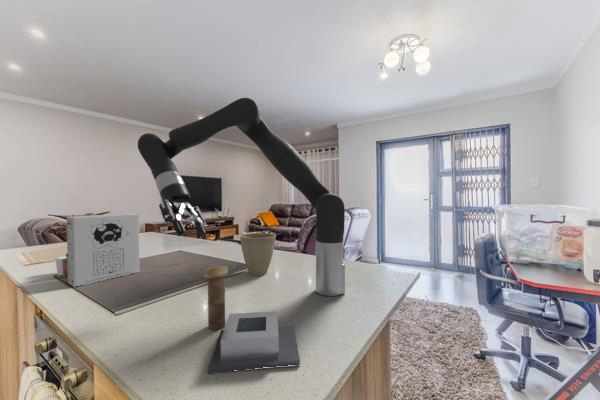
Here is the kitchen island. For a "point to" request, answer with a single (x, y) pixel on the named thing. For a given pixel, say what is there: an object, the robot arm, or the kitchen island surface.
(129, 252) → the cereal box
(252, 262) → the plant pot
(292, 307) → the kitchen island surface
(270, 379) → the kitchen island surface
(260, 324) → the steel receiver
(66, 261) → the lighter
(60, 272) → the shot glass
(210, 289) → the walnut pin
